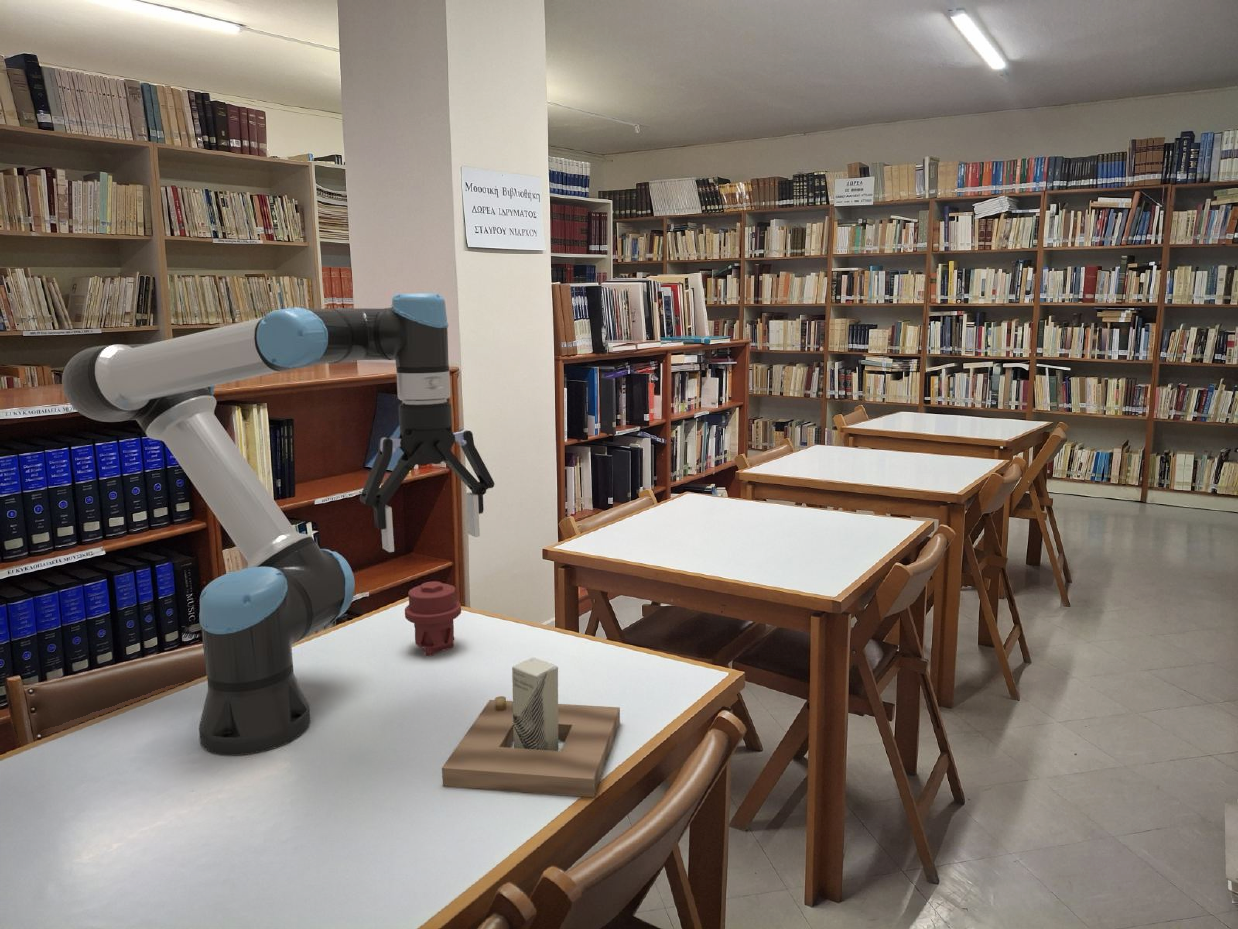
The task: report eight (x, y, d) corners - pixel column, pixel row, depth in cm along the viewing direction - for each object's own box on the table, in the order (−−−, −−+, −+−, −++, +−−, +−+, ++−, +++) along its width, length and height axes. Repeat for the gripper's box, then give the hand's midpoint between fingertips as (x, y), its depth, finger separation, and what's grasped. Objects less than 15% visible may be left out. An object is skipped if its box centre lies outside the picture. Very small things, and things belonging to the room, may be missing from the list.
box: (512, 753, 119) (508, 665, 117) (534, 740, 123) (531, 655, 120) (539, 765, 116) (536, 675, 114) (562, 752, 119) (559, 664, 117)
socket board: (593, 797, 108) (593, 768, 107) (442, 785, 111) (441, 757, 111) (620, 723, 127) (619, 698, 127) (490, 715, 131) (489, 690, 130)
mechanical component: (471, 640, 161) (450, 661, 151) (421, 637, 163) (397, 658, 153) (468, 577, 159) (446, 594, 149) (417, 575, 161) (393, 592, 151)
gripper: (347, 409, 115) (358, 562, 118) (512, 397, 129) (517, 534, 133) (330, 405, 121) (341, 550, 124) (490, 393, 135) (495, 524, 139)
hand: (432, 542), depth 129 cm, fingers open, 13 cm apart
